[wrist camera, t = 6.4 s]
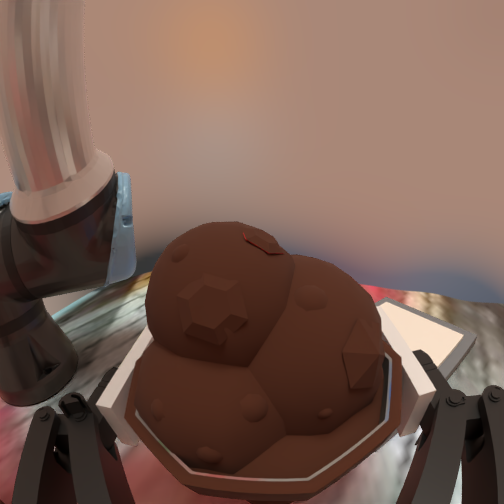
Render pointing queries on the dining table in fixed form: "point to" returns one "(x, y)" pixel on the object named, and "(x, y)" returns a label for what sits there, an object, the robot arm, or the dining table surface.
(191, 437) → the ice cream bowl
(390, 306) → the sheet
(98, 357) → the dining table surface
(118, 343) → the dining table surface
